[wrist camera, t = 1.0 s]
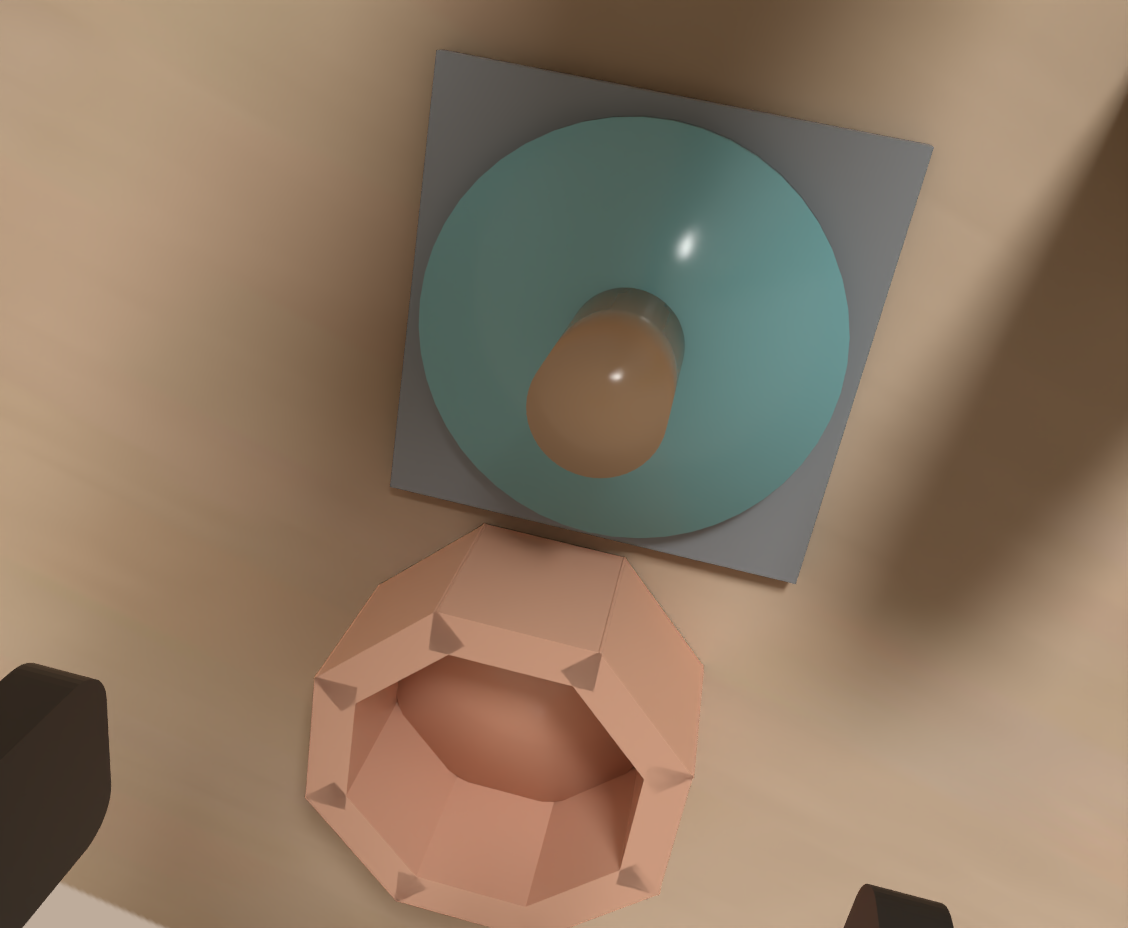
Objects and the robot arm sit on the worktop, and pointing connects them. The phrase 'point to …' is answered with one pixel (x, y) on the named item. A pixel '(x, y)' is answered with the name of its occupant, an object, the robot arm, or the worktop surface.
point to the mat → (791, 146)
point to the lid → (634, 327)
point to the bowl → (509, 733)
